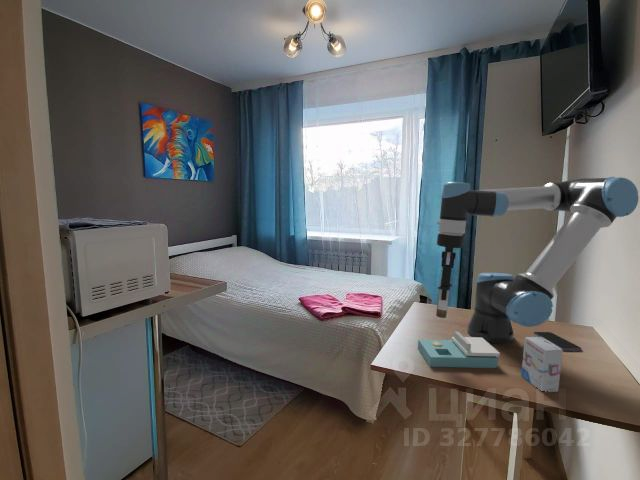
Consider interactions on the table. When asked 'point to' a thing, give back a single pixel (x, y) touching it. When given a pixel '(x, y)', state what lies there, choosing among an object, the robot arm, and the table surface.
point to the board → (452, 355)
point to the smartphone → (559, 341)
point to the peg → (441, 312)
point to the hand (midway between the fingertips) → (442, 307)
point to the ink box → (542, 363)
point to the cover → (474, 346)
